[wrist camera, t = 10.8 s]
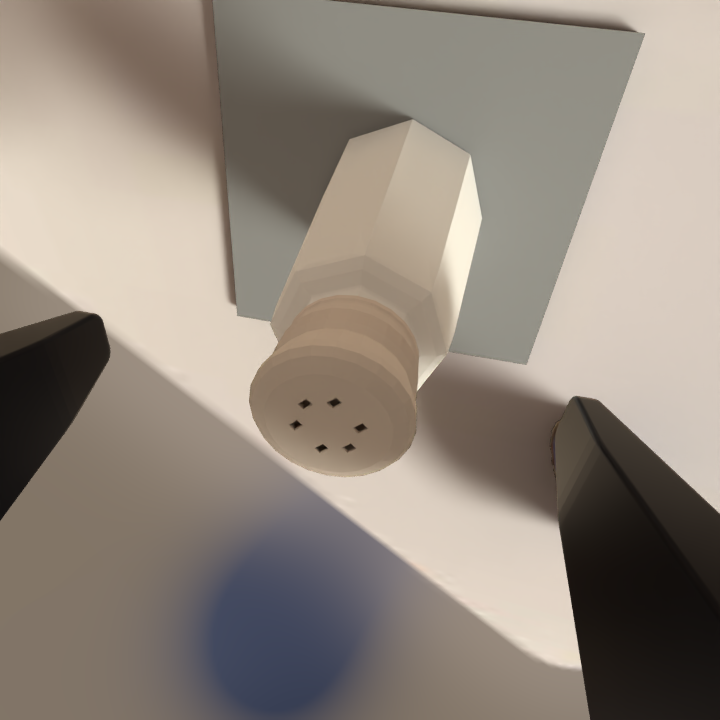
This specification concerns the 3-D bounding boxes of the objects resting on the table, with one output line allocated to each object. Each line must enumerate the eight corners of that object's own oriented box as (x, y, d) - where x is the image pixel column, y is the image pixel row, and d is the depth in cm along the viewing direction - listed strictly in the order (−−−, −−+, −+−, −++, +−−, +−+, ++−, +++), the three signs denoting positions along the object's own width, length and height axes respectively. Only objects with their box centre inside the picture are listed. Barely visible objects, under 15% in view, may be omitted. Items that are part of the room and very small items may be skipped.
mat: (638, 32, 13) (645, 33, 13) (525, 356, 20) (526, 364, 19) (219, -11, 14) (211, -12, 14) (242, 308, 21) (237, 316, 21)
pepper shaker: (292, 190, 17) (104, 385, 8) (418, 76, 14) (341, 184, 6) (388, 303, 19) (320, 559, 10) (515, 221, 16) (572, 472, 7)
